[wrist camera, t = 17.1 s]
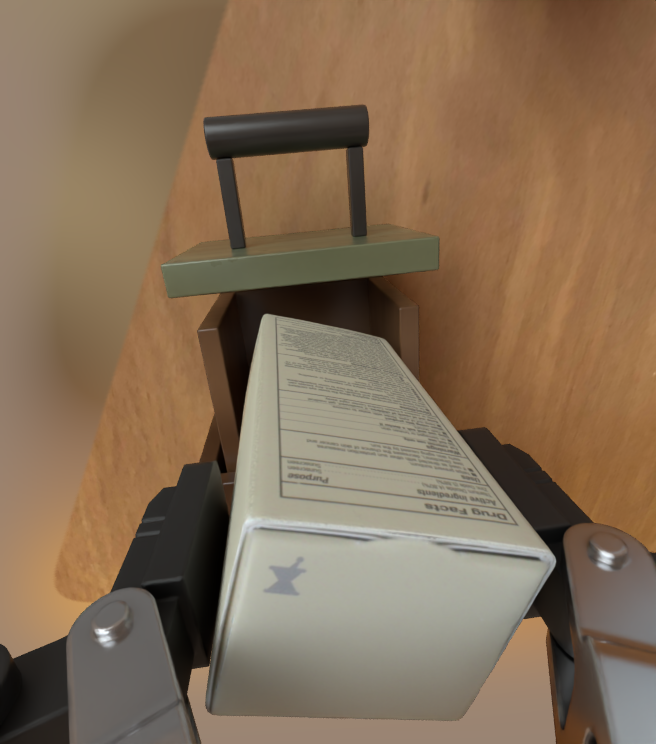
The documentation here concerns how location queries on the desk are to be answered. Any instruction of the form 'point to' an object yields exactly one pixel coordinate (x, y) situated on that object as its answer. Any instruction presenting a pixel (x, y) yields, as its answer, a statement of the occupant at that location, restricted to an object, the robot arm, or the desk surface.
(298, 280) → the drawer
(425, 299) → the desk surface
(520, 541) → the box
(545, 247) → the desk surface
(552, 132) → the desk surface
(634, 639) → the robot arm
